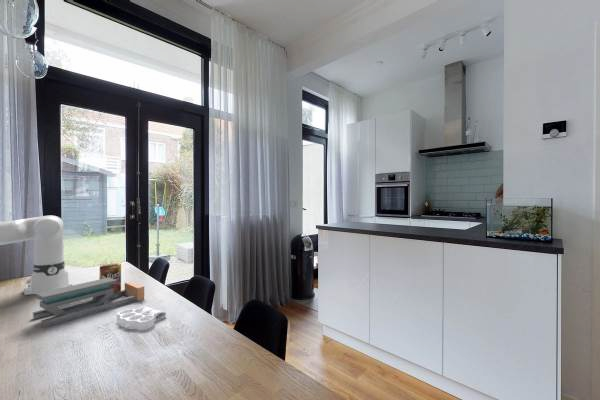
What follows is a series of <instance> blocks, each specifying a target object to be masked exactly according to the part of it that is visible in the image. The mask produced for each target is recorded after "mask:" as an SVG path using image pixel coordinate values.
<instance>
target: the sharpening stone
mask: <svg viewBox="0 0 600 400" xmlns="http://www.w3.org/2000/svg"><path fill="white" fill-rule="evenodd" d="M113 284H116V280H114V279H111V278H104V279H100V280H99V279H97V280H96V279H95V280H91V281H86V282H82V283H77V284H72V286H68V287H63V288H59V289H54V290H50V291H45V292H40V293H36V294H35V298H37V299H38V300H39V307H40V308H42V310H44V309H45V310H47V311H49V312H51V313H53V315H55V316H60V315H63V314H67V313H71V312H75V311H78V310H82V309H86V308H89V307H93V306H97V305H101V304H104V303H107V301H109V300H108V299H109V298H110V297H111V295H112V294H113V293H114V288H112V287H109V285H113ZM89 298H92V299H90V300H86V301H83V302H79V303H75V304H72V305H68V306H64V307H60V308H58V306H62V305H66V304H69V303H73V302H77V301H81V300H85V299H89Z"/></svg>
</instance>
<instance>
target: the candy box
mask: <svg viewBox="0 0 600 400" xmlns="http://www.w3.org/2000/svg"><path fill="white" fill-rule="evenodd" d="M98 277H99V279H98V280H100V279H104V278H111V279H114V280H116V284H113V285H109V287H112V288H114V292H118V291H122V262H117V263H115V262H114V263H108V264H100V265H99V276H98Z"/></svg>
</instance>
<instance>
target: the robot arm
mask: <svg viewBox="0 0 600 400" xmlns="http://www.w3.org/2000/svg"><path fill="white" fill-rule="evenodd" d="M63 229H64V221H63V219H62V218H61V217H60V216H56V215H51V214H50V215H42V216H35V217H28V218H27V217H26V218H22V219H15V220H8V221H0V246H2V245H8V244H9V245H10V244H15V243H21V242H26V241H30V240H33V244H34V245H33V246H34V247H33V248H34V264H33V267H32V268H33V269H32V271H33V273H32V275H31V276H30V277H29V278H28V279H26V283H25V284H26V285H27V286H25V288H24V294H23V295H24V296H28V295H29V296H30V295H36V293H40V292H45V291H50V290H54V289H59V288H63V287H68V286H72V285H73V283H72V282H70V281H69V271H68V270H66V269H65V261H64V230H63Z"/></svg>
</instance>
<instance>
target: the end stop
mask: <svg viewBox="0 0 600 400" xmlns="http://www.w3.org/2000/svg"><path fill="white" fill-rule="evenodd" d="M124 290H126V295H125V296H126V297H130V296H134V295H137V296H138V301H137V302H139V301H142V300H145V286H144V285H142V284H139V283H136V282H134V281H125V282H124Z"/></svg>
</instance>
